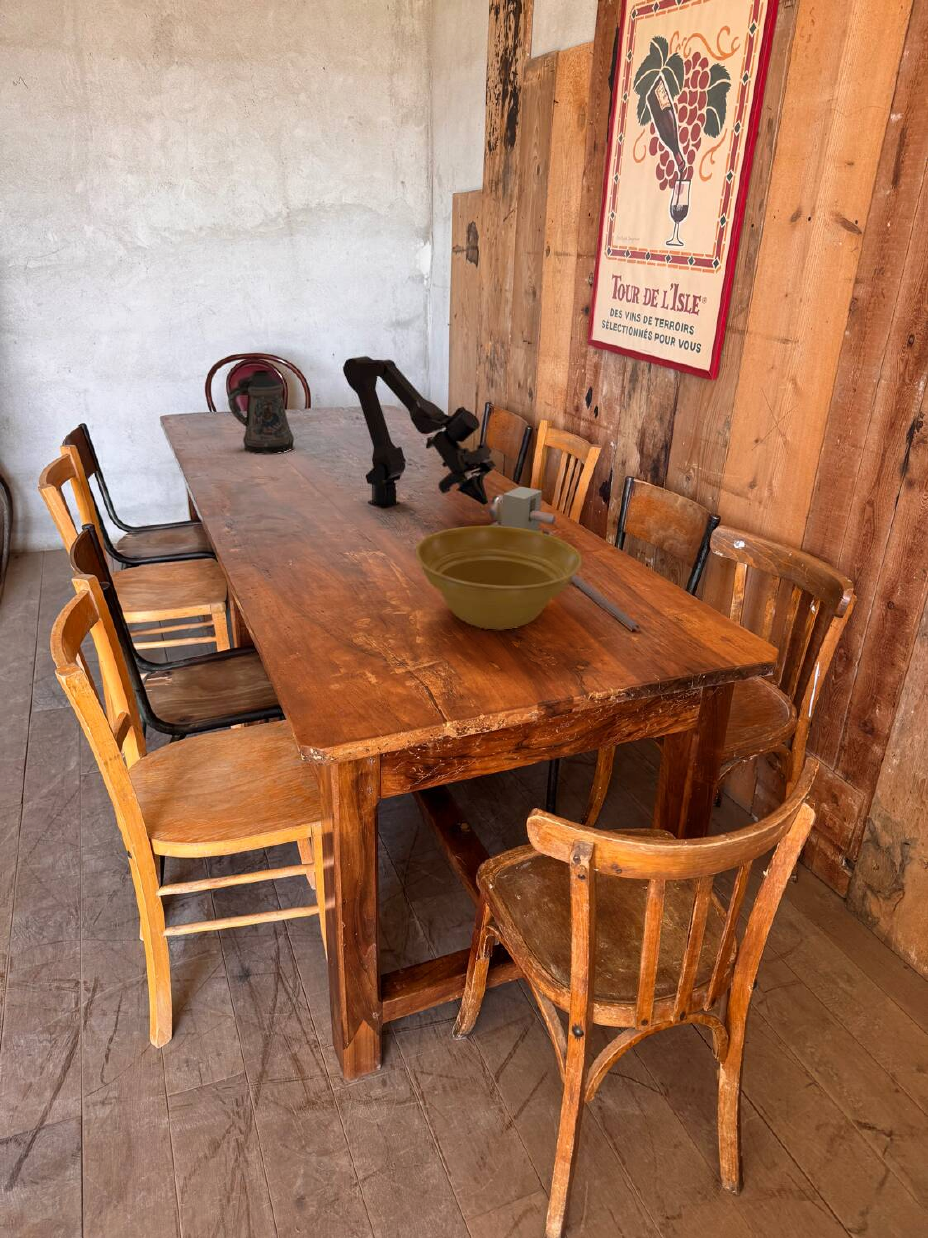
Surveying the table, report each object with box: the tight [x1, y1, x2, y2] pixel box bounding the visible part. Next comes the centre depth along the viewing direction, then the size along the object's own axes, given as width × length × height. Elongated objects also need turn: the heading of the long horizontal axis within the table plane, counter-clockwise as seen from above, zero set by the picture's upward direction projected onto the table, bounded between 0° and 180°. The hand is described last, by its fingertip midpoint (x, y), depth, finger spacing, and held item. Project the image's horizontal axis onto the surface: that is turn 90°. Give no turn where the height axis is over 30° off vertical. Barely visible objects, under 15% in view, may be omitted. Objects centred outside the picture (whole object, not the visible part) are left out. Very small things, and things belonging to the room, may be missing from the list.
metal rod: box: [570, 573, 641, 629], centre depth 174 cm, size 2×27×2 cm, turn 20°
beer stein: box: [227, 369, 295, 454], centre depth 275 cm, size 16×19×25 cm
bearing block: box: [488, 486, 554, 537], centre depth 208 cm, size 16×9×12 cm, turn 57°
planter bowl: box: [414, 525, 583, 630], centre depth 164 cm, size 32×32×13 cm
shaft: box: [489, 494, 556, 525], centre depth 207 cm, size 16×6×6 cm, turn 57°
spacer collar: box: [497, 501, 503, 523], centre depth 209 cm, size 2×5×5 cm, turn 147°
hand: (486, 503), depth 212 cm, fingers closed
